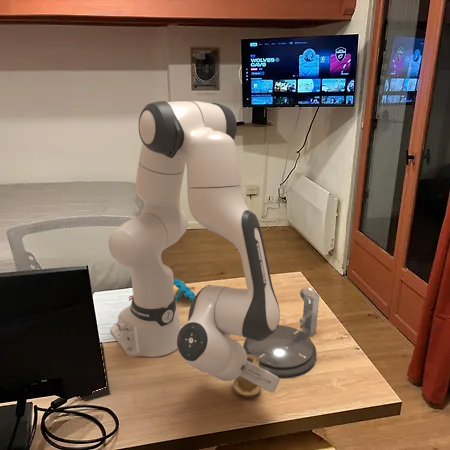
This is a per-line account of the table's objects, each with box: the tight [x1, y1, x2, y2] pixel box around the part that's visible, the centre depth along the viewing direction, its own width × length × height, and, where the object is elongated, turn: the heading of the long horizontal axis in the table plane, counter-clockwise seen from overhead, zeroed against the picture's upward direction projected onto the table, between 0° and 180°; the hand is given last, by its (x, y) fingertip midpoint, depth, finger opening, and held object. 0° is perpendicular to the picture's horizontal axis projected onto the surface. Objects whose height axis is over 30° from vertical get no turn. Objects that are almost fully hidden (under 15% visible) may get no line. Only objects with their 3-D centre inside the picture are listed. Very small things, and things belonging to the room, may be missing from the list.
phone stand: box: [83, 341, 111, 402], centre depth 110 cm, size 9×6×12 cm, turn 23°
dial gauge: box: [299, 286, 320, 337], centre depth 130 cm, size 5×6×16 cm
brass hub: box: [232, 354, 262, 398], centre depth 109 cm, size 7×7×8 cm
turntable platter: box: [247, 324, 314, 370], centre depth 124 cm, size 18×18×2 cm
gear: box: [173, 278, 196, 302], centre depth 150 cm, size 11×6×10 cm
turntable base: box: [242, 338, 317, 379], centre depth 125 cm, size 20×20×2 cm
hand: (249, 371), depth 110 cm, fingers closed on brass hub, 5 cm apart
